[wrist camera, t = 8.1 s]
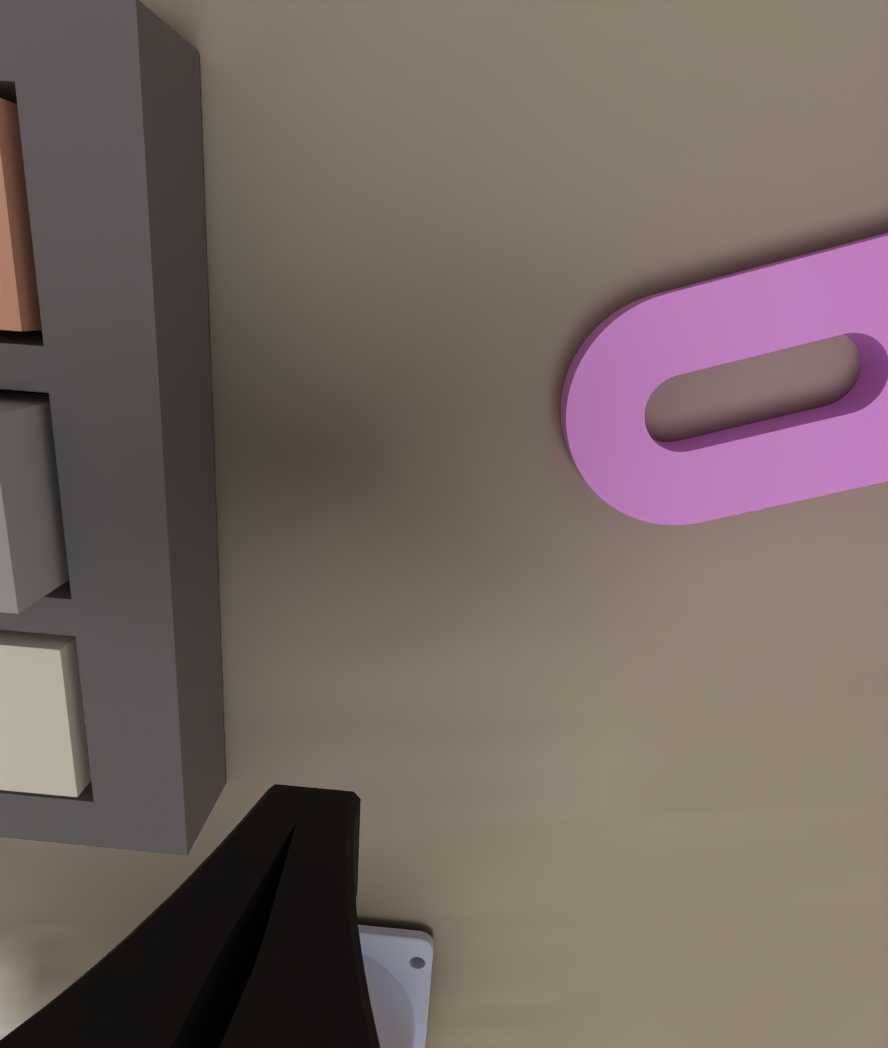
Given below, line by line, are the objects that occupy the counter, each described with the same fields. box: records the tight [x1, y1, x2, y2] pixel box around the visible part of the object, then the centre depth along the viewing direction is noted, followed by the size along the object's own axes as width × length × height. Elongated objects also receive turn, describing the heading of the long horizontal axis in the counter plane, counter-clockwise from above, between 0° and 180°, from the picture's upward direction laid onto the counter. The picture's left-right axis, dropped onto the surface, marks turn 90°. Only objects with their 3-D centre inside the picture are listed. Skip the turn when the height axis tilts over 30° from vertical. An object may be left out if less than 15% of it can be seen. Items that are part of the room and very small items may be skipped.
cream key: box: [0, 630, 91, 797], centre depth 19 cm, size 4×4×3 cm
